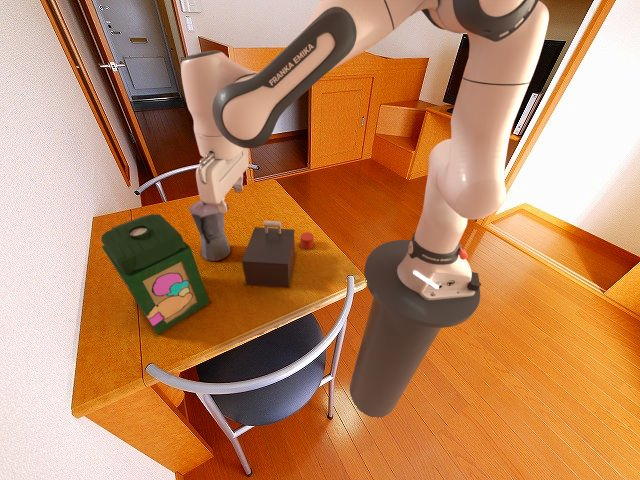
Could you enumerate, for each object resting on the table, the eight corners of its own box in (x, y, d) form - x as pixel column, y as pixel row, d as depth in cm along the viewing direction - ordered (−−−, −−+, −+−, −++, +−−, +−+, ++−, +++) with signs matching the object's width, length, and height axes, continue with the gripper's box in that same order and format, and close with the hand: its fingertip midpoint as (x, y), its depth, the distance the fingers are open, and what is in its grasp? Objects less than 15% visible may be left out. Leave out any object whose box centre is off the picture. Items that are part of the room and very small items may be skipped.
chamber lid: (255, 228, 87) (253, 215, 84) (294, 231, 87) (294, 218, 84) (242, 263, 75) (239, 249, 72) (287, 266, 75) (287, 252, 72)
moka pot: (232, 237, 97) (221, 186, 84) (232, 267, 86) (220, 215, 73) (203, 240, 95) (188, 189, 82) (200, 272, 84) (181, 219, 71)
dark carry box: (257, 251, 92) (254, 230, 86) (294, 253, 92) (294, 233, 86) (246, 284, 81) (242, 263, 75) (288, 287, 81) (287, 266, 75)
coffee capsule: (313, 241, 97) (313, 232, 95) (312, 249, 94) (313, 240, 91) (301, 240, 97) (301, 231, 95) (299, 248, 94) (299, 240, 91)
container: (185, 271, 84) (157, 201, 68) (216, 305, 75) (193, 233, 59) (133, 298, 75) (88, 225, 59) (161, 340, 66) (117, 268, 50)
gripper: (213, 164, 50) (228, 226, 58) (249, 130, 66) (257, 182, 74) (180, 162, 50) (199, 224, 59) (224, 128, 66) (234, 181, 75)
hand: (232, 200), depth 67 cm, fingers open, 8 cm apart
